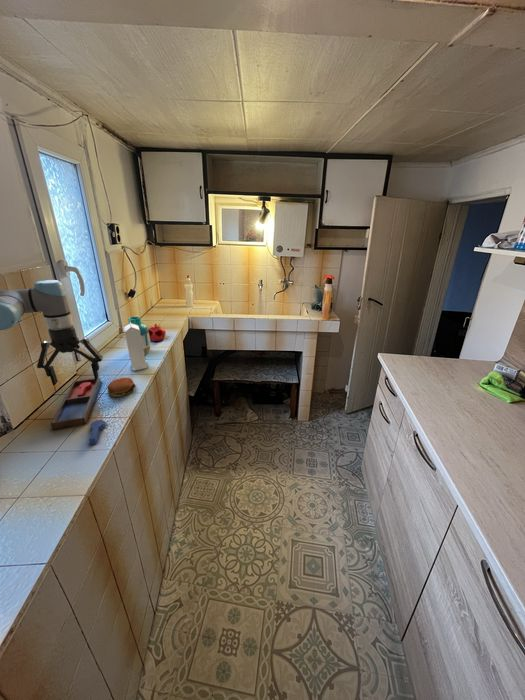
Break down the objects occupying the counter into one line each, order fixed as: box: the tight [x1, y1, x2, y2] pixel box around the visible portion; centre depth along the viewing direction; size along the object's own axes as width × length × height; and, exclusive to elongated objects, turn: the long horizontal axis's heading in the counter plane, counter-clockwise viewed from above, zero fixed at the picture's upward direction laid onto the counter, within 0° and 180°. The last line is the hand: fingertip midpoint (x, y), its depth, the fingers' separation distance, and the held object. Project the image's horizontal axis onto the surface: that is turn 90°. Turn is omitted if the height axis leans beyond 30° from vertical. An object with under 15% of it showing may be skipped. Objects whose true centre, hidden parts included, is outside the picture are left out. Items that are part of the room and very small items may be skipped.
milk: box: [123, 323, 148, 372], centre depth 126 cm, size 6×6×22 cm
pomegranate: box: [148, 323, 167, 342], centre depth 159 cm, size 10×10×9 cm
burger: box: [107, 377, 137, 398], centre depth 110 cm, size 10×9×5 cm
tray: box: [50, 376, 102, 431], centre depth 104 cm, size 10×28×3 cm, turn 18°
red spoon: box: [78, 382, 92, 397], centre depth 109 cm, size 4×10×2 cm, turn 18°
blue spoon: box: [88, 419, 106, 445], centre depth 89 cm, size 4×10×2 cm, turn 18°
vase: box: [127, 315, 151, 355], centre depth 139 cm, size 11×11×19 cm
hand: (76, 380), depth 105 cm, fingers open, 13 cm apart
